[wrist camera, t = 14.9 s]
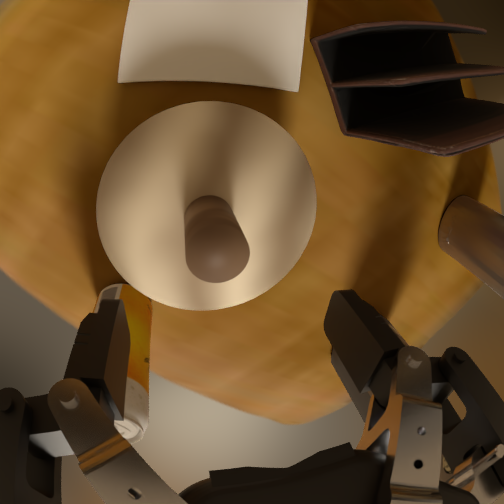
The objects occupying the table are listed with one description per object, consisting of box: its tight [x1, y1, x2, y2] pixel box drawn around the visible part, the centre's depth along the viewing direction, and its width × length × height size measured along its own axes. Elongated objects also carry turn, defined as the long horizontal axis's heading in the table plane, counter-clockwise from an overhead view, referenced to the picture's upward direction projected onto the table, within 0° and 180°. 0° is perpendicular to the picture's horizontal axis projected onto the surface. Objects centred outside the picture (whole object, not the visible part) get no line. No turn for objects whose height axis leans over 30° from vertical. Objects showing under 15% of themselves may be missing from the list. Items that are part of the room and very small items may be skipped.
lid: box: [96, 101, 316, 310], centre depth 17 cm, size 15×15×6 cm
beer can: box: [93, 284, 152, 443], centre depth 21 cm, size 6×6×15 cm
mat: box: [118, 0, 308, 92], centre depth 16 cm, size 15×15×1 cm
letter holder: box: [310, 21, 504, 157], centre depth 16 cm, size 10×20×14 cm, turn 110°
